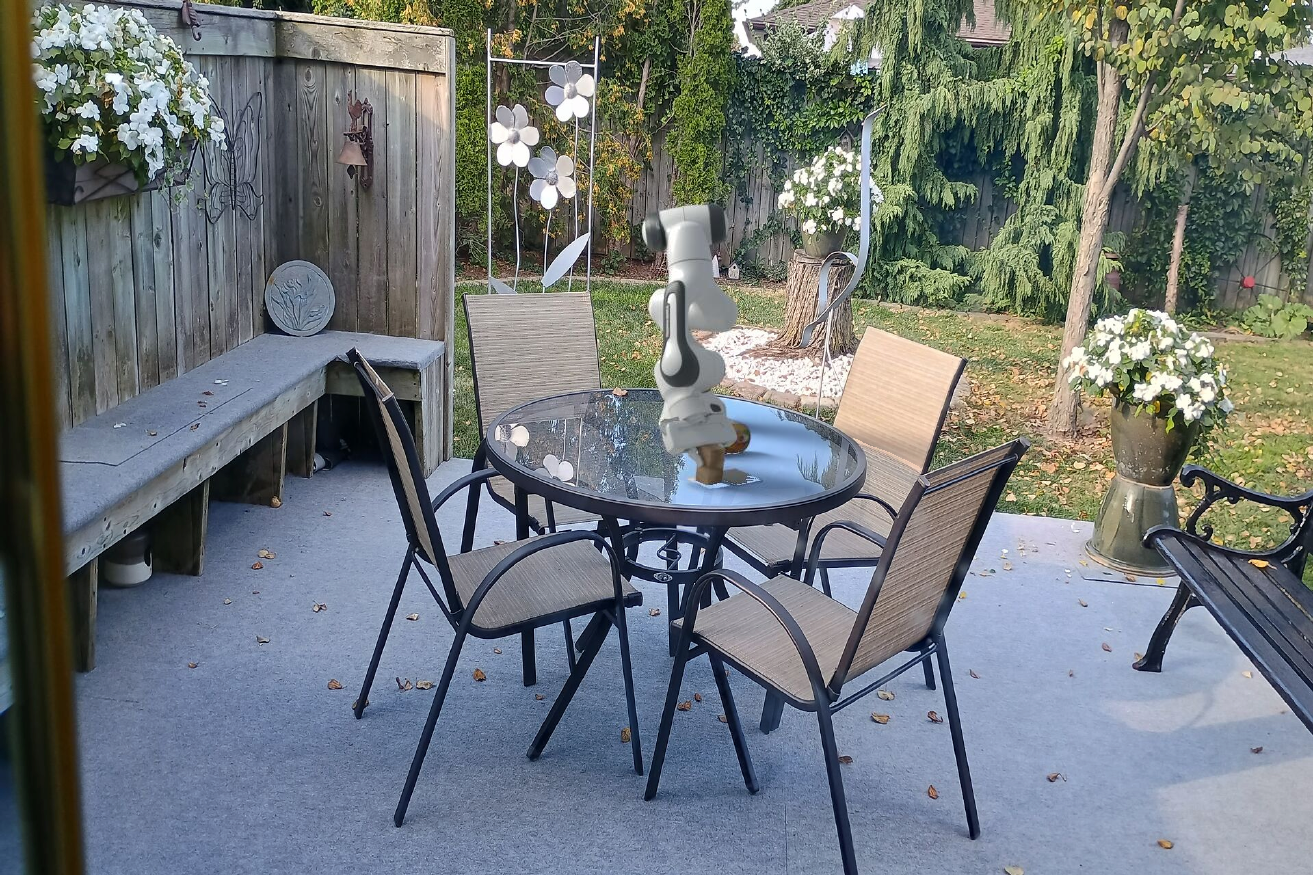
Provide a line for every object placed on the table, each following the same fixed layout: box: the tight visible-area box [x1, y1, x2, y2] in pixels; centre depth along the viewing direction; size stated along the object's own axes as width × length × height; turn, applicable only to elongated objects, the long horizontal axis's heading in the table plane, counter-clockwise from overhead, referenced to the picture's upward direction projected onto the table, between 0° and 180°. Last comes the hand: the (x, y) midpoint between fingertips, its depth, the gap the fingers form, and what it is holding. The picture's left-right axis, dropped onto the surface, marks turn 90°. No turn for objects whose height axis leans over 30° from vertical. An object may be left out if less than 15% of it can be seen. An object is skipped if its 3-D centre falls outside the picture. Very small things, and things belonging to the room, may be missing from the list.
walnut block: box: [695, 444, 725, 485], centre depth 268 cm, size 5×5×9 cm
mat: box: [722, 468, 756, 485], centre depth 274 cm, size 9×10×1 cm
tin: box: [724, 421, 752, 454], centre depth 294 cm, size 15×3×8 cm, turn 118°
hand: (712, 464), depth 267 cm, fingers closed on walnut block, 5 cm apart
